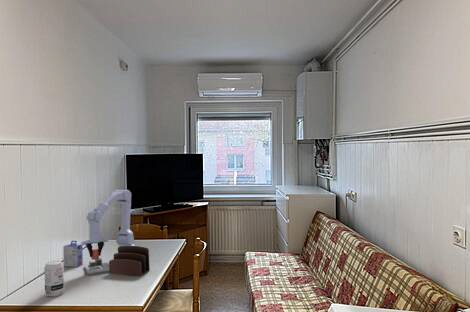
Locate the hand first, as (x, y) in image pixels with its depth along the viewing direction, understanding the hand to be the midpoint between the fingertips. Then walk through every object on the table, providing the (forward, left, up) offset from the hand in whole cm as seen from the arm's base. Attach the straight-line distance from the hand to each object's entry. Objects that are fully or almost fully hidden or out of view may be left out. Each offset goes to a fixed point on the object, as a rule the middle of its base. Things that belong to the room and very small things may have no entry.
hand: (95, 256), depth 222 cm
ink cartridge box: (+9, -19, -9) cm, 23 cm away
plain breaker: (-3, -8, -7) cm, 11 cm away
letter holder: (-16, +13, -9) cm, 22 cm away
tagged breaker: (+1, -4, -7) cm, 8 cm away
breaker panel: (-2, -2, -9) cm, 9 cm away
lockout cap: (0, 0, -2) cm, 2 cm away
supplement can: (+23, +28, -9) cm, 37 cm away
